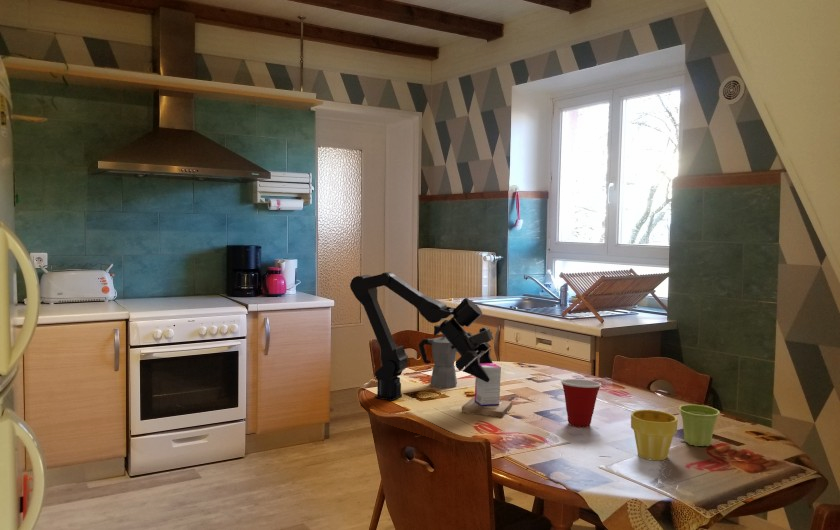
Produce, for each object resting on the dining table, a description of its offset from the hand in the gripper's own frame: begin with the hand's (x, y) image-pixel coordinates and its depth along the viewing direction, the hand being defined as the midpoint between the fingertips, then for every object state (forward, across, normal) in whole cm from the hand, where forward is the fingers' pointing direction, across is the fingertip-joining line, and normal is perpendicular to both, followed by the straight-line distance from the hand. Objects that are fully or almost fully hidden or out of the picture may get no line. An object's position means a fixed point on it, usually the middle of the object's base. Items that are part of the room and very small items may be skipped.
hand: (492, 377), depth 194 cm
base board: (+6, 0, +8) cm, 10 cm away
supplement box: (+5, 0, +7) cm, 8 cm away
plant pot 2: (+46, -7, -32) cm, 57 cm away
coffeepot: (-9, +22, +23) cm, 33 cm away
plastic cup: (+25, -3, -11) cm, 27 cm away
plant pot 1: (+38, -22, -25) cm, 51 cm away
